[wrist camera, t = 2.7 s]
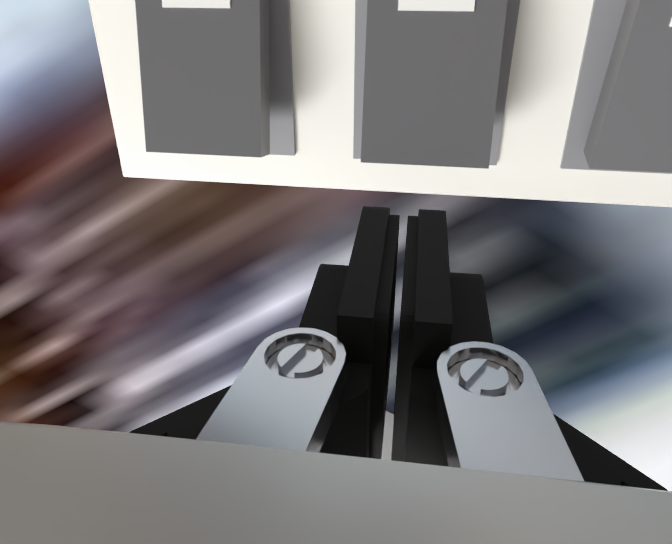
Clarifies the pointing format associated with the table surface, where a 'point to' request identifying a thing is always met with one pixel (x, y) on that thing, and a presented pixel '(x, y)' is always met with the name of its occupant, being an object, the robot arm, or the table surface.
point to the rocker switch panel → (347, 107)
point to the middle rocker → (431, 81)
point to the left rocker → (205, 76)
